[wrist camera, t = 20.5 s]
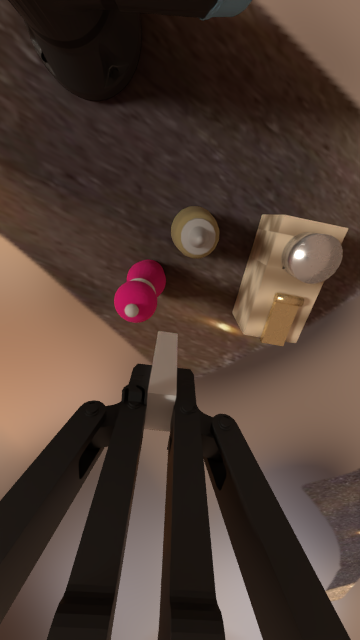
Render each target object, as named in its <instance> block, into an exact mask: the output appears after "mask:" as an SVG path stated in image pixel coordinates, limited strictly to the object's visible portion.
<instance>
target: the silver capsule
mask: <svg viewBox="0 0 360 640" xmlns="http://www.w3.org/2000/svg"><path fill="white" fill-rule="evenodd" d="M342 257H343V250H342V246H341V244H340V242H339V241H338V240H337V239H336V238H335V237H333V236H331V235H327V234H320V233H313V232H304V233H301V234H298V235H296V236H295V237H293V238H292V239H291V240H290V241H289V242H288V243H287V244H286V246H285V248H284V250H283V252H282V257H281V262H282V266H283V268H284V270H285V271H286V272H287V273H288V274H289V275H291V276H293V277H295V278H297V279H298V280H300V281H302V282H304V283H308V284H315V283H320V282H322V281H325V280H326V279H328V278H329V277H331V276H332V275H333V274H334V273H335V272H336V270H337V269H338V268H339V266H340V264H341V261H342Z"/></svg>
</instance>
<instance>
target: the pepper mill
mask: <svg viewBox="0 0 360 640" xmlns="http://www.w3.org/2000/svg"><path fill="white" fill-rule="evenodd" d="M165 284H166V277H165V274H164V270H163V268H162V266H161V265H160V264H159V263H157V262H156V261H153V260H143V261H140V262H138V263H136V264H134V265H133V266H132V267H131V269H130V270H129V272H128V275H127V282H126V283H124V284H123V285H121V286H120V287H119V289H118V290H117V292H116V294H115V298H114V304H115V308H116V311H117V312H118V314H119V315H120V316H121V317H122V318H123V319H125V320H127V321H129V322H135V323H138V322H143V321H145V320H147V319H149V318H150V317H151V316H152V315H153V313H154V312H155V310H156V307H157V297H158V296H159V295H160V294H161V293H162V292H163V290H164V288H165Z"/></svg>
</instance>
